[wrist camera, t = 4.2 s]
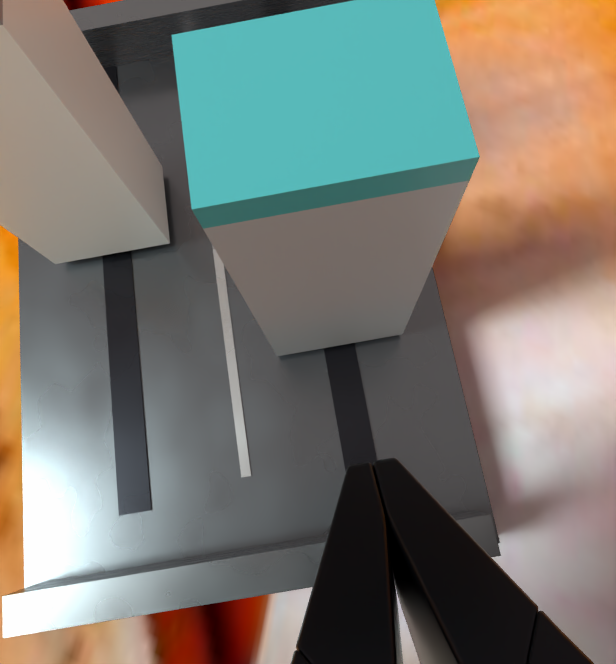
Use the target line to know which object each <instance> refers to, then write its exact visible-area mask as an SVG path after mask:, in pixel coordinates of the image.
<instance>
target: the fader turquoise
mask: <svg viewBox="0 0 616 664" xmlns="http://www.w3.org/2000/svg"><path fill="white" fill-rule="evenodd" d="M172 44H173V53H174V61H175V70H176V78H177V87H178V96H179V104H180V113H181V121H182V130H183V139H184V147H185V156H186V164H187V173H188V182H189V190H190V199H191V208H192V211H193V212H194V214H195V216H196V218H197V219H198V221H199V223H200V224H201V226H202V228H203V230H204V231H205V233H206V235H207V236H208V238H209V240H210V242H211V243H212V245H213V247H214V248H215V250H216V252H217V254H218V255H219V257H220V259H221V260H222V262H223V264H224V266H225V267H226V269H227V271H228V273H229V274H230V276H231V278H232V279H233V281H234V283H235V285H236V286H237V288H238V290H239V291H240V293H241V295H242V297H243V298H244V300H245V302H246V303H247V305H248V307H249V309H250V310H251V312H252V314H253V315H254V317H255V319H256V321H257V322H258V324H259V326H260V327H261V329H262V331H263V333H264V334H265V336H266V338H267V339H268V341H269V343H270V345H271V346H272V348H273V350H274V351H275V353H276V355H277V356H282V355H288V354H293V353H299V352H305V351H310V350H316V349H322V348H328V347H333V346H339V345H345V344H350V343H356V342H362V341H367V340H373V339H379V338H384V337H390V336H396V335H402V334H403V332H404V330H405V328H406V325H407V323H408V321H409V319H410V316H411V314H412V312H413V309H414V307H415V305H416V302H417V300H418V298H419V295H420V293H421V291H422V289H423V286H424V284H425V282H426V279H427V277H428V275H429V272H430V270H431V268H432V266H433V263H434V261H435V259H436V256H437V254H438V252H439V249H440V247H441V245H442V242H443V240H444V238H445V236H446V233H447V231H448V229H449V226H450V224H451V222H452V219H453V217H454V215H455V212H456V210H457V208H458V206H459V203H460V201H461V199H462V196H463V194H464V192H465V189H466V187H467V185H468V183H469V180H470V178H471V176H472V173H473V171H474V169H475V166H476V164H477V162H478V159H479V157H480V156H479V153H478V149H477V146H476V142H475V139H474V136H473V132H472V129H471V125H470V122H469V118H468V115H467V111H466V108H465V104H464V101H463V97H462V94H461V90H460V87H459V84H458V80H457V77H456V73H455V70H454V66H453V63H452V59H451V56H450V52H449V49H448V45H447V42H446V38H445V35H444V32H443V28H442V25H441V21H440V18H439V14H438V11H437V7H436V4H435V0H353V1H348V2H342V3H337V4H332V5H327V6H321V7H316V8H311V9H305V10H300V11H295V12H290V13H284V14H279V15H274V16H269V17H263V18H258V19H253V20H247V21H242V22H237V23H232V24H226V25H221V26H216V27H211V28H205V29H200V30H195V31H190V32H184V33H179V34H174V35H172Z"/></svg>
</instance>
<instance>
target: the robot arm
mask: <svg viewBox="0 0 616 664" xmlns="http://www.w3.org/2000/svg"><path fill="white" fill-rule="evenodd" d="M395 586H396V589H395ZM396 590H397V594H398V597H399V601H400V604H401V607H402V610H403V613H404V616H405V619H406V622H407V625H408V628H409V631H410V634H411V637H412V640H413V643H414V646H415V649H416V652H417V655H418V658H419V661H420V664H594V663H593V662H592V661H591V660H590V659H589V658H588V657H587V656H586V655H585V654H584V653H583V652H582V651H581V650H580V649H579V648H578V647H577V646H576V645H575V644H574V643H573V642H572V641H571V640H570V639H569V638H568V637H567V636H566V635H565V634H564V633H563V632H562V631H561V630H560V629H559V628H558V627H557V626H556V625H555V624H554V623H553V621H552V620H551V619H550V618H549V617H548V616H547V615H546V614H545V613H544V612H543V611H538V606H537V605H536V604H535V603H534V602H533V601H532V600H531V599H530V598H529V597H528V596H527V595H526V593H525V592H524V591H523V590H522V589H521V588H520V587H519V586H518V585H517V584H516V583H515V582H514V581H513V580H512V579H511V578H510V577H509V576H508V575H507V574H506V572H505V571H504V570H503V569H502V568H501V567H500V566H499V565H498V564H497V563H496V562H495V561H494V560H493V559H492V558H491V557H490V556H489V555H488V554H487V553H486V552H485V550H484V549H483V548H482V547H481V546H480V545H479V544H478V543H477V542H476V541H475V540H474V539H473V538H472V537H471V536H470V535H469V534H468V533H467V532H466V531H465V529H464V528H463V527H462V526H461V525H460V524H459V523H458V522H457V521H456V520H455V519H454V518H453V517H452V516H451V515H450V514H449V513H448V512H447V511H446V510H445V509H444V507H443V506H442V505H441V504H440V503H439V502H438V501H437V500H436V499H435V498H434V497H433V496H432V495H431V494H430V493H429V492H428V491H427V490H426V489H425V488H424V486H423V485H422V484H421V483H420V482H419V481H418V480H417V479H416V478H415V477H414V476H413V475H412V474H411V473H410V472H409V471H408V470H407V469H406V468H405V467H404V465H403V464H402V463H401V462H400V461H399V460H397V459H396V458H388V459H382V460H376V461H374V462H373V466H372V464H371V463H370V462H365V463H359V464H353V465H350V466H348V468H347V470H346V474H345V477H344V481H343V484H342V487H341V491H340V494H339V498H338V501H337V505H336V508H335V512H334V515H333V519H332V522H331V526H330V529H329V533H328V536H327V540H326V543H325V547H324V550H323V554H322V557H321V561H320V564H319V568H318V571H317V575H316V578H315V582H314V585H313V589H312V592H311V596H310V599H309V602H308V606H307V609H306V613H305V616H304V620H303V623H302V627H301V630H300V634H299V637H298V641H297V644H296V648H297V650H296V651H295V652H294V654H293V657H292V661H291V664H403V658H402V647H401V637H400V626H399V615H398V605H397V597H396Z"/></svg>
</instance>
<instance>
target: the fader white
mask: <svg viewBox="0 0 616 664" xmlns="http://www.w3.org/2000/svg"><path fill="white" fill-rule="evenodd" d="M0 225H1V226H3V227H4V228H5V229H7V230H8V231H10V232H11V233H12V234H14V235H15V236H17V237H18V238H19V239H21V240H22V241H24V242H25V243H26V244H28V245H29V246H31V247H32V248H33V249H35V250H36V251H38V252H39V253H40V254H42V255H43V256H45V257H46V258H47V259H49V260H50V261H52V262H53V263H54V264H59V263H64V262H70V261H75V260H81V259H86V258H92V257H97V256H103V255H109V254H114V253H120V252H125V251H131V250H136V249H142V248H147V247H153V246H158V245H164V244H169V243H170V238H169V228H168V218H167V209H166V199H165V189H164V179H163V169H162V165H161V164H160V162H159V160H158V159H157V157H156V155H155V154H154V152H153V150H152V149H151V147H150V145H149V144H148V142H147V140H146V139H145V137H144V135H143V134H142V132H141V130H140V129H139V127H138V125H137V124H136V122H135V120H134V119H133V117H132V115H131V114H130V112H129V110H128V109H127V107H126V105H125V104H124V102H123V100H122V99H121V97H120V95H119V94H118V92H117V90H116V89H115V87H114V85H113V83H112V82H111V80H110V78H109V77H108V75H107V73H106V72H105V70H104V68H103V67H102V65H101V63H100V62H99V60H98V58H97V57H96V55H95V53H94V52H93V50H92V48H91V47H90V45H89V43H88V42H87V40H86V38H85V37H84V35H83V33H82V32H81V30H80V28H79V27H78V25H77V23H76V22H75V20H74V18H73V17H72V15H71V13H70V12H69V10H68V8H67V7H66V5H65V3H64V1H63V0H0Z"/></svg>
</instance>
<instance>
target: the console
mask: <svg viewBox="0 0 616 664" xmlns="http://www.w3.org/2000/svg"><path fill="white" fill-rule="evenodd" d="M348 1H353V0H123V1H118V2H112V3H107V4H102V5H97V6H92V7H86V8H81V9H76V10H71V11H69V12H70V13H71V15H72V17H73V18H74V20H75V22H76V23H77V25H78V27H79V28H80V30H81V32H82V33H83V35H84V37H85V38H86V40H87V42H88V43H89V45H90V47H91V48H92V50H93V52H94V53H95V55H96V57H97V58H98V60H99V62H100V63H101V65H102V67H103V68H104V70H105V72H106V73H107V75H108V77H109V78H110V80H111V82H112V83H113V85H114V87H115V89H116V90H117V92H118V94H119V95H120V97H121V99H122V100H123V102H124V104H125V105H126V107H127V109H128V110H129V112H130V114H131V115H132V117H133V119H134V120H135V122H136V124H137V125H138V127H139V129H140V130H141V132H142V134H143V135H144V137H145V139H146V140H147V142H148V144H149V145H150V147H151V149H152V150H153V152H154V154H155V155H156V157H157V159H158V160H159V162H160V164H161V165H162V169H163V179H164V189H165V199H166V209H167V218H168V228H169V238H170V243H169V244H164V245H158V246H153V247H147V248H142V249H136V250H131V251H125V252H120V253H114V254H109V255H103V256H97V257H92V258H86V259H81V260H75V261H70V262H64V263H59V264H54V263H53V262H52V261H50V260H49V259H47V258H46V257H45V256H43V255H42V254H40V253H39V252H38V251H36V250H35V249H33V248H32V247H31V246H29V245H28V244H26V243H25V242H24V241H22V240H21V239H19V238H18V242H19V300H20V357H21V415H22V473H23V531H24V589H21V590H18V591H16V592H13V593H10V594H8V595H5V596H3V638H7V637H13V636H19V635H25V634H31V633H37V632H43V631H49V630H55V629H61V628H67V627H73V626H79V625H86V624H92V623H98V622H104V621H110V620H116V619H122V618H128V617H134V616H140V615H146V614H152V613H158V612H164V611H170V610H176V609H182V608H188V607H194V606H200V605H206V604H212V603H218V602H224V601H230V600H236V599H242V598H248V597H254V596H261V595H267V594H273V593H279V592H285V591H291V590H297V589H303V588H309V587H313V585H314V582H315V578H316V575H317V571H318V568H319V564H320V561H321V557H322V554H323V550H324V547H325V543H326V540H327V536H328V533H329V529H330V526H331V522H332V519H333V515H334V512H335V508H336V505H337V501H338V498H339V494H340V491H341V487H342V484H343V481H344V477H345V474H346V470H347V468H348V466H350V465H353V464H359V463H365V462H370V463H371V464H372V466H373V462H374V461H376V460H382V459H388V458H396V459H397V460H399V461H400V462H401V463H402V464H403V465H404V467H405V468H406V469H407V470H408V471H409V472H410V473H411V474H412V475H413V476H414V477H415V478H416V479H417V480H418V481H419V482H420V483H421V484H422V485H423V486H424V488H425V489H426V490H427V491H428V492H429V493H430V494H431V495H432V496H433V497H434V498H435V499H436V500H437V501H438V502H439V503H440V504H441V505H442V506H443V507H444V509H445V510H446V511H447V512H448V513H449V514H450V515H451V516H452V517H453V518H454V519H455V520H456V521H457V522H458V523H459V524H460V525H461V526H462V527H463V528H464V529H465V531H466V532H467V533H468V534H469V535H470V536H471V537H472V538H473V539H474V540H475V541H476V542H477V543H478V544H479V545H480V546H481V547H482V548H483V549H484V550H485V552H486V553H487V554H488V555H489V556H490V557H496V556H501V555H500V551H499V547H498V543H500V542H499V538H498V534H497V529H496V525H495V521H494V517H493V513H492V509H491V505H490V501H489V497H488V493H487V489H486V485H485V480H484V476H483V472H482V468H481V464H480V460H479V456H478V452H477V448H476V444H475V440H474V436H473V431H472V427H471V423H470V419H469V415H468V411H467V407H466V403H465V399H464V395H463V391H462V386H461V382H460V378H459V374H458V370H457V366H456V362H455V358H454V354H453V350H452V346H451V342H450V337H449V333H448V329H447V325H446V321H445V317H444V313H443V309H442V305H441V301H440V297H439V293H438V288H437V284H436V280H435V276H434V272H433V268H431V270H430V272H429V275H428V277H427V279H426V282H425V284H424V286H423V289H422V291H421V293H420V295H419V298H418V300H417V302H416V305H415V307H414V309H413V312H412V314H411V316H410V319H409V321H408V323H407V325H406V328H405V330H404V332H403V334H402V335H396V336H390V337H384V338H379V339H373V340H367V341H362V342H356V343H350V344H345V345H339V346H333V347H328V348H322V349H316V350H310V351H305V352H299V353H293V354H288V355H282V356H277V355H276V353H275V351H274V350H273V348H272V346H271V345H270V343H269V341H268V339H267V338H266V336H265V334H264V333H263V331H262V329H261V327H260V326H259V324H258V322H257V321H256V319H255V317H254V315H253V314H252V312H251V310H250V309H249V307H248V305H247V303H246V302H245V300H244V298H243V297H242V295H241V293H240V291H239V290H238V288H237V286H236V285H235V283H234V281H233V279H232V278H231V276H230V274H229V273H228V271H227V269H226V267H225V266H224V264H223V262H222V260H221V259H220V257H219V255H218V254H217V252H216V250H215V248H214V247H213V245H212V243H211V242H210V240H209V238H208V236H207V235H206V233H205V231H204V230H203V228H202V226H201V224H200V223H199V221H198V219H197V218H196V216H195V214H194V212H193V211H192V208H191V199H190V190H189V182H188V173H187V164H186V156H185V147H184V139H183V130H182V121H181V113H180V104H179V96H178V87H177V78H176V70H175V61H174V53H173V44H172V35H174V34H179V33H184V32H190V31H195V30H200V29H205V28H211V27H216V26H221V25H226V24H232V23H237V22H242V21H247V20H253V19H258V18H263V17H269V16H274V15H279V14H284V13H290V12H295V11H300V10H305V9H311V8H316V7H321V6H327V5H332V4H337V3H342V2H348Z"/></svg>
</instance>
